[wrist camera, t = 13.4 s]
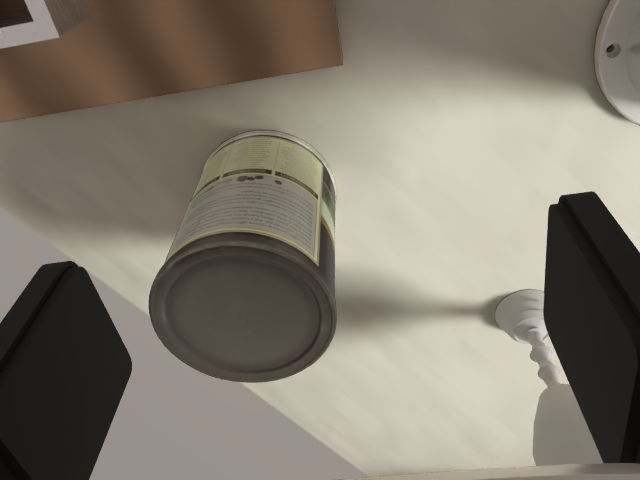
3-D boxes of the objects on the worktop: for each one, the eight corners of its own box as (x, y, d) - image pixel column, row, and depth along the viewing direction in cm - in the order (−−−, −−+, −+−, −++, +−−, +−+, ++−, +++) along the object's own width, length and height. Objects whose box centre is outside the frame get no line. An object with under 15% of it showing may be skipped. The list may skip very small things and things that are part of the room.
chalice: (490, 279, 47) (559, 479, 32) (574, 278, 47) (683, 479, 32) (479, 343, 51) (536, 547, 36) (556, 343, 51) (645, 548, 36)
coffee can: (363, 208, 44) (372, 340, 32) (257, 267, 47) (230, 406, 36) (282, 100, 39) (258, 208, 27) (171, 175, 42) (107, 299, 31)
